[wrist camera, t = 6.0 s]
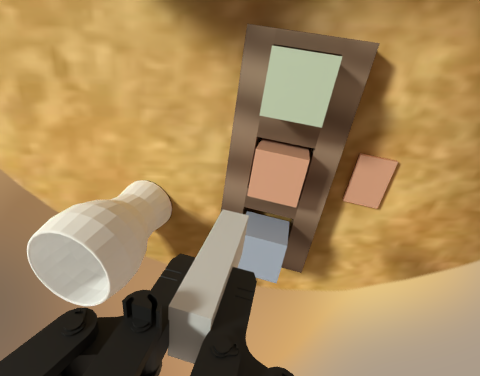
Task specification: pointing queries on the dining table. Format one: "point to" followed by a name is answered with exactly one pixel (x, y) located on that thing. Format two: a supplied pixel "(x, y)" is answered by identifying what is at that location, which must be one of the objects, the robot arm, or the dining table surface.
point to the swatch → (369, 180)
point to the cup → (98, 243)
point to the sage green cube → (299, 85)
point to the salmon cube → (278, 172)
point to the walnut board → (294, 129)
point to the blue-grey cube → (264, 246)
